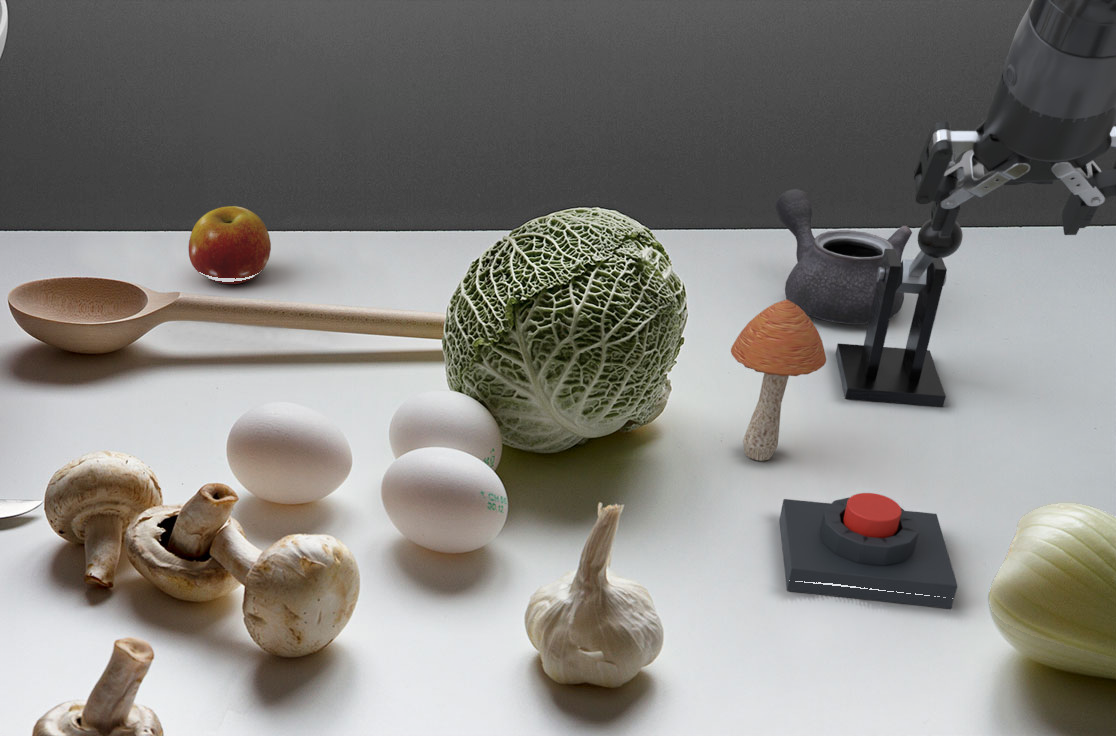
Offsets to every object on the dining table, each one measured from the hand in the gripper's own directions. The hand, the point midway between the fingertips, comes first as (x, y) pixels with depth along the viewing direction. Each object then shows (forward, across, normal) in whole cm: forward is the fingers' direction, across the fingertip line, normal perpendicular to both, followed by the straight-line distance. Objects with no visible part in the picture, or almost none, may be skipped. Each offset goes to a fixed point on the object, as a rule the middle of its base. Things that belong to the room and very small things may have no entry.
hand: (1004, 226), depth 96 cm
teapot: (+45, +6, -24) cm, 51 cm away
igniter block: (+16, +8, +21) cm, 27 cm away
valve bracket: (+34, +2, -7) cm, 35 cm away
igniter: (+13, +8, +19) cm, 24 cm away
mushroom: (+24, +15, +7) cm, 29 cm away
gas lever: (+20, +1, -10) cm, 22 cm away
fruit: (+36, +74, -21) cm, 85 cm away
